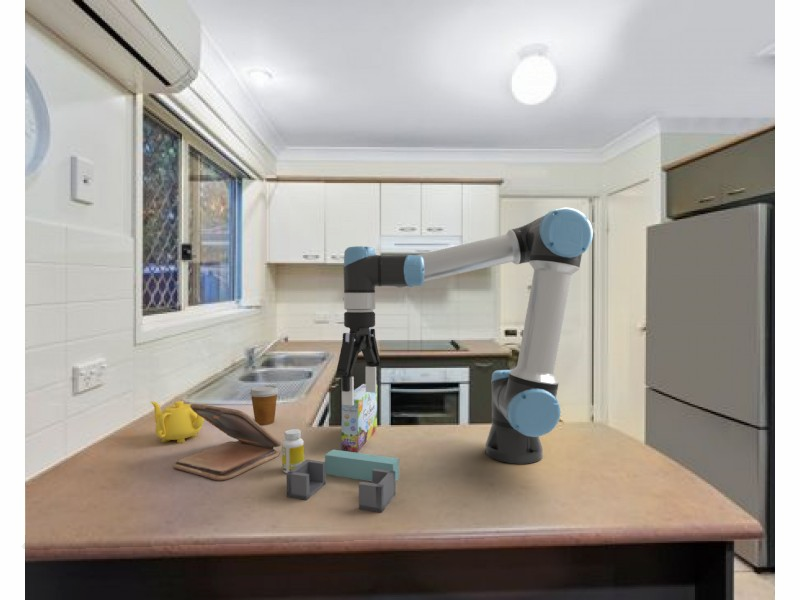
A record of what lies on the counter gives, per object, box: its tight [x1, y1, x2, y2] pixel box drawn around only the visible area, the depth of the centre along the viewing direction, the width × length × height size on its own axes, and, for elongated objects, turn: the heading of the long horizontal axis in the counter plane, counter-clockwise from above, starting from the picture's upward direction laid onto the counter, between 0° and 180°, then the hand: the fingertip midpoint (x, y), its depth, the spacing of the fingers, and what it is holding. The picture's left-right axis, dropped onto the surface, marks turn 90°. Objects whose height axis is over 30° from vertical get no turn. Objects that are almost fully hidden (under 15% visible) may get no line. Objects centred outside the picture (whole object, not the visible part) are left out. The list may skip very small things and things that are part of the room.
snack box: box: [340, 383, 378, 453], centre depth 133 cm, size 21×6×15 cm, turn 168°
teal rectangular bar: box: [324, 449, 400, 483], centre depth 107 cm, size 18×4×5 cm, turn 70°
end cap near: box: [358, 468, 396, 513], centre depth 94 cm, size 5×8×5 cm, turn 161°
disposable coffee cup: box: [249, 384, 279, 426], centre depth 152 cm, size 10×10×12 cm
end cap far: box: [285, 459, 327, 501], centre depth 100 cm, size 5×8×5 cm, turn 161°
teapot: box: [150, 400, 205, 445], centre depth 135 cm, size 20×15×12 cm
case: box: [172, 403, 282, 481], centre depth 118 cm, size 20×21×16 cm
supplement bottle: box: [281, 428, 305, 474], centre depth 111 cm, size 5×5×10 cm
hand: (360, 398), depth 107 cm, fingers open, 13 cm apart
